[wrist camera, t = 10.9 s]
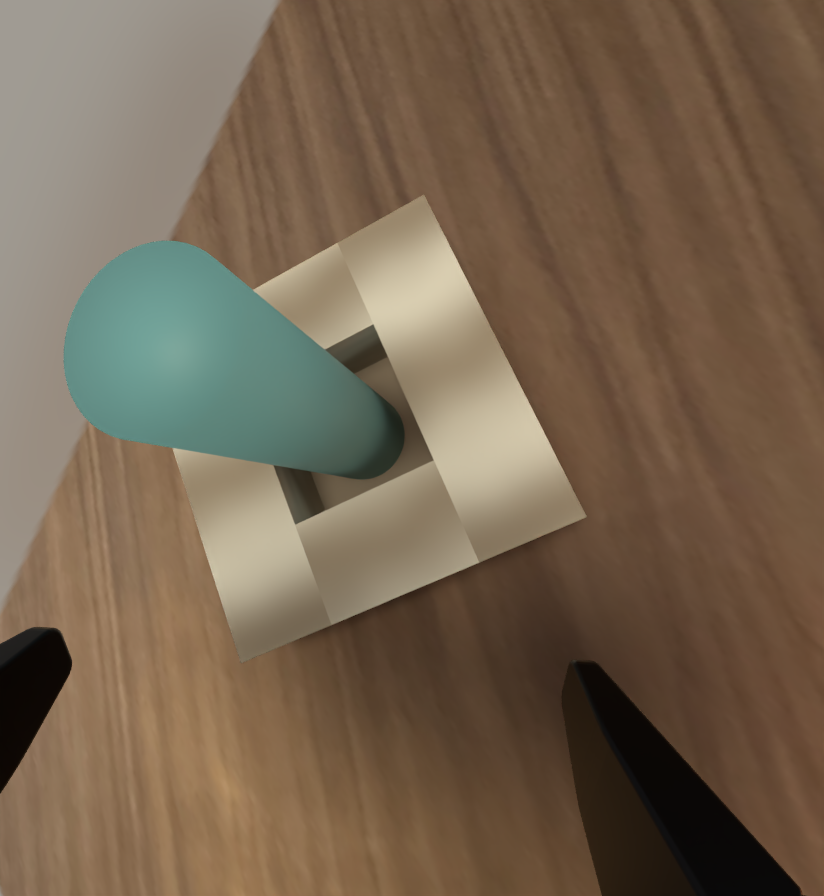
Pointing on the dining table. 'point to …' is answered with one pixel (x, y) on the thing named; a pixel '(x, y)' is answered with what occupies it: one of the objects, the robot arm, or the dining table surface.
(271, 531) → the cream square wooden frame
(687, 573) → the dining table surface
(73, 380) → the teal cylinder
